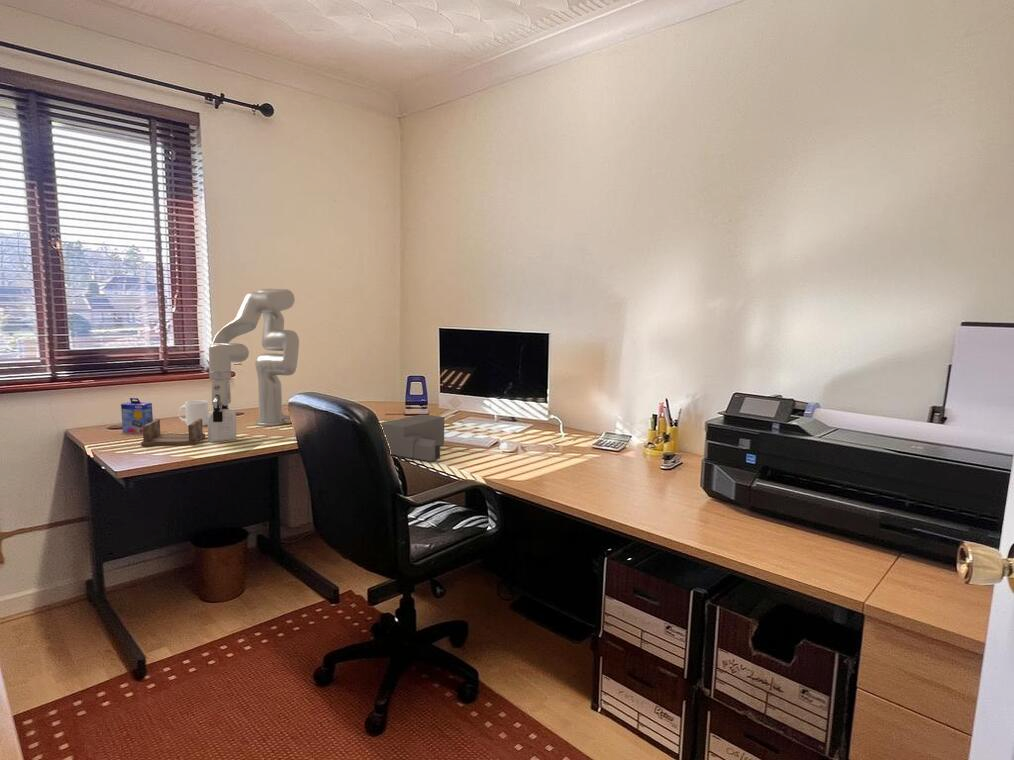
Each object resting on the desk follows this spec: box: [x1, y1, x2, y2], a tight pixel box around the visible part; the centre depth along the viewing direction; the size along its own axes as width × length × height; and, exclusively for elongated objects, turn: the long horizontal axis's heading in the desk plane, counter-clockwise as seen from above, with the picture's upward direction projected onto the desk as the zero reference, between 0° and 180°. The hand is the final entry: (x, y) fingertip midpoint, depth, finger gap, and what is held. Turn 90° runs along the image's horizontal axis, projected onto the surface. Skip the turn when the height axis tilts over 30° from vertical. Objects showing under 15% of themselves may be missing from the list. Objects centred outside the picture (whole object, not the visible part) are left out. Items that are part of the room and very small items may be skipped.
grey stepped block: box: [380, 413, 445, 462], centre depth 218 cm, size 25×23×11 cm
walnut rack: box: [140, 418, 206, 447], centre depth 220 cm, size 14×18×8 cm
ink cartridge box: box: [120, 397, 154, 434], centre depth 233 cm, size 10×6×14 cm, turn 87°
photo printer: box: [207, 408, 237, 443], centre depth 224 cm, size 10×4×12 cm, turn 134°
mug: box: [177, 399, 209, 427], centre depth 249 cm, size 9×12×11 cm
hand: (221, 419), depth 223 cm, fingers open, 9 cm apart
